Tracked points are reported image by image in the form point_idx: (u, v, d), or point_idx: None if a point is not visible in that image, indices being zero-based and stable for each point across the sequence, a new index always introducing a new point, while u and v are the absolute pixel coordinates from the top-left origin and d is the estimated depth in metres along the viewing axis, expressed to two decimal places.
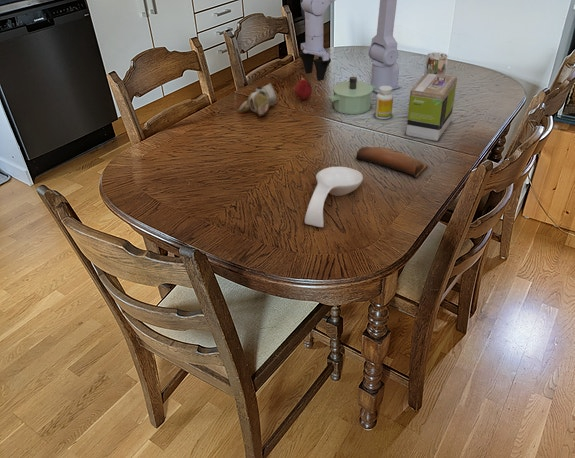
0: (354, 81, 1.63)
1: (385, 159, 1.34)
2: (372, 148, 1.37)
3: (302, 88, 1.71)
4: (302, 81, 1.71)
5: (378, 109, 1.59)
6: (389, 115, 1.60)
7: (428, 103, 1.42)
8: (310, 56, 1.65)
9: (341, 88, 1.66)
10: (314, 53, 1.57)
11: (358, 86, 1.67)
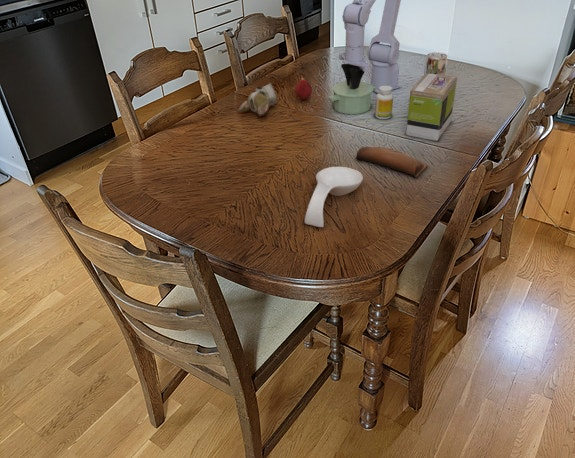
0: None
1: (385, 159, 1.34)
2: (372, 148, 1.37)
3: (302, 88, 1.71)
4: (302, 81, 1.71)
5: (378, 109, 1.59)
6: (389, 115, 1.60)
7: (427, 103, 1.42)
8: None
9: (341, 88, 1.66)
10: (354, 64, 1.57)
11: None
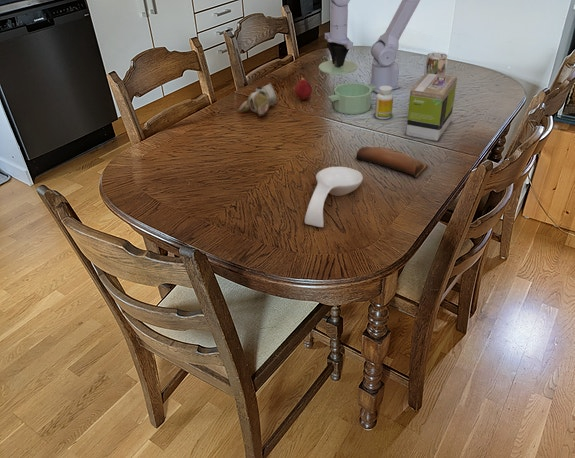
0: None
1: (385, 159, 1.34)
2: (372, 148, 1.37)
3: (302, 88, 1.71)
4: (302, 81, 1.71)
5: (378, 109, 1.59)
6: (389, 115, 1.60)
7: (427, 103, 1.42)
8: None
9: (326, 66, 1.74)
10: (339, 42, 1.65)
11: None
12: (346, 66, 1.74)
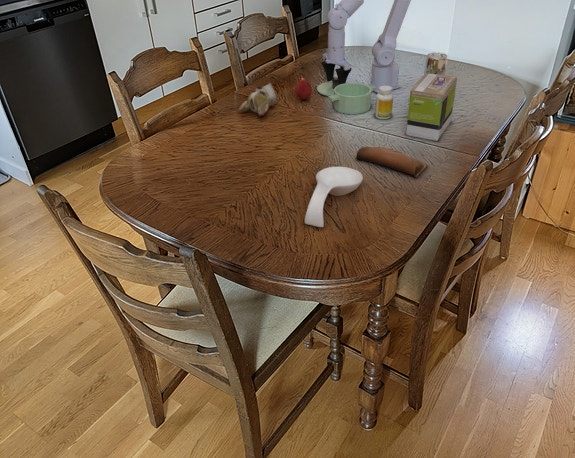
0: (336, 81, 1.78)
1: (385, 159, 1.34)
2: (372, 148, 1.37)
3: (302, 88, 1.71)
4: (302, 81, 1.71)
5: (378, 109, 1.59)
6: (389, 115, 1.60)
7: (427, 103, 1.42)
8: (331, 65, 1.79)
9: (324, 88, 1.81)
10: (336, 63, 1.71)
11: None
12: None
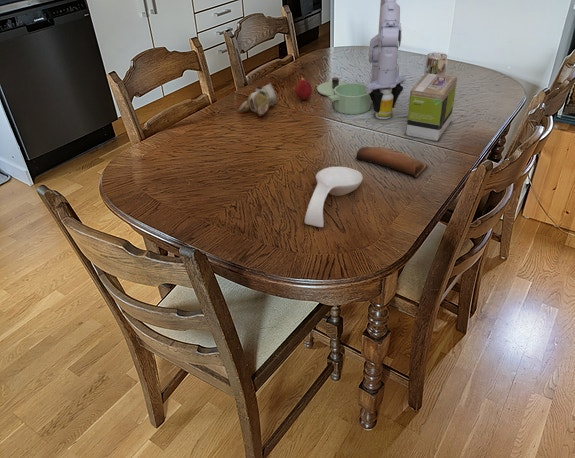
0: (336, 81, 1.78)
1: (385, 159, 1.34)
2: (372, 148, 1.37)
3: (302, 88, 1.71)
4: (302, 81, 1.71)
5: None
6: (389, 115, 1.60)
7: (427, 103, 1.42)
8: None
9: (324, 88, 1.81)
10: (398, 82, 1.56)
11: None
12: None
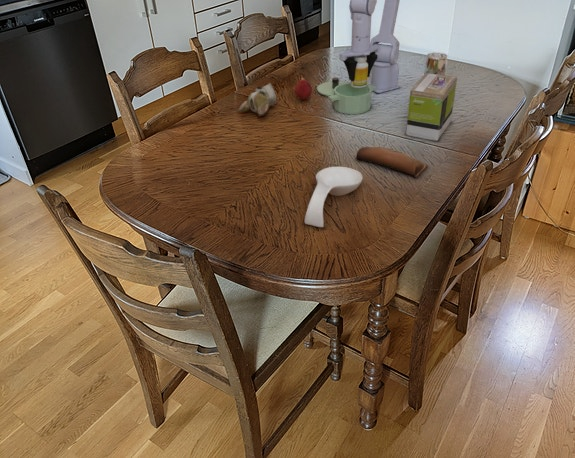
0: (336, 81, 1.78)
1: (385, 159, 1.34)
2: (372, 148, 1.37)
3: (302, 88, 1.71)
4: (302, 81, 1.71)
5: None
6: (364, 84, 1.61)
7: (427, 103, 1.42)
8: None
9: (324, 88, 1.81)
10: (372, 50, 1.57)
11: None
12: None
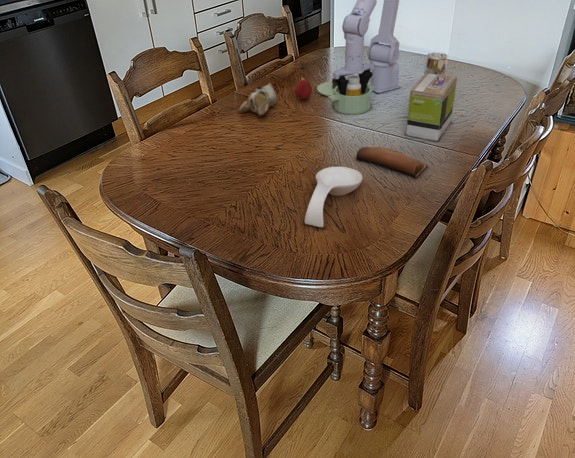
0: None
1: (385, 159, 1.34)
2: (372, 148, 1.37)
3: (302, 88, 1.71)
4: (302, 81, 1.71)
5: None
6: None
7: (427, 103, 1.42)
8: None
9: (324, 88, 1.81)
10: (365, 68, 1.62)
11: None
12: None
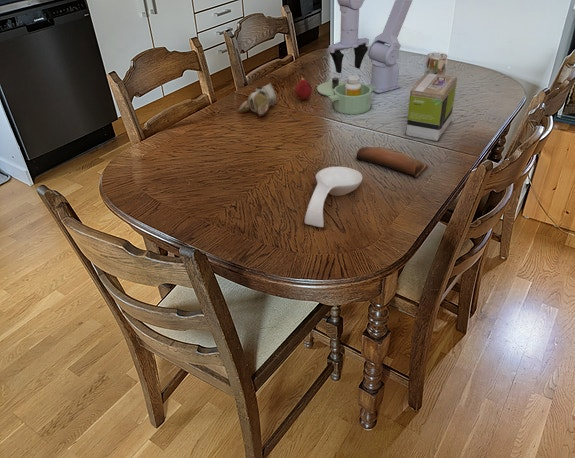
0: (336, 81, 1.78)
1: (385, 159, 1.34)
2: (372, 148, 1.37)
3: (302, 88, 1.71)
4: (302, 81, 1.71)
5: None
6: None
7: (427, 103, 1.42)
8: None
9: (324, 88, 1.81)
10: (361, 43, 1.63)
11: None
12: None
